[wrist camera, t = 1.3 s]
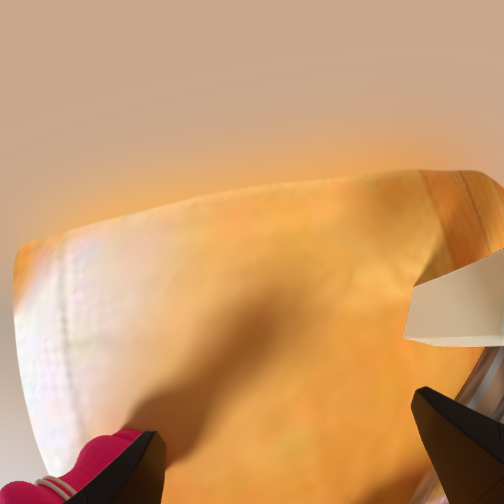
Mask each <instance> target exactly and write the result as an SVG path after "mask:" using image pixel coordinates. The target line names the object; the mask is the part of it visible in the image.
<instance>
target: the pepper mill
mask: <svg viewBox="0 0 504 504" xmlns="http://www.w3.org/2000/svg"><path fill="white" fill-rule="evenodd" d="M140 434H141V432H139V431H135V430H131V429H125V430H121V431H118V432H117V433H115V434H113V435H111V436H110V435H103V436H99V437H96V438H94V439H93V440H91V441H90V442H88V443H87V444H86V445H85V446H84V448H83V449H82V450H81V452H80V454H79V457H78V459H77V461H76V464H75V466H74V468H73V469H72V470H71V471H70V472H68V473H67V474H65V475H64V476H61V477H58V478H56V477H53V476H45V477H44V478H43V479H38V480H37V481H35V483H34V485H33V484H31V483H28V482H24V481H15V482H11V483H9V484H7V485H5V486H4V487H3V488H2V489H1V491H0V504H62V503H64V502H65V501H67V500H68V499H69V498H71V497H72V496H73V495H75V494H76V493H77V492H78V491H80V490H81V489H82V488H83V487H84V486H86V485H87V484H88V483H89V482H90V481H91V480H92V479H93V478H94V477H96V476H97V475H98V474H99V473H100V472H101V471H102V470H103V469H104V468H106V467H107V466H108V465H109V464H110V463H111V462H112V461H113V460H114V459H115V458H116V457H117V456H119V455H120V454H121V453H122V452H123V451H124V450H125V449H126V448H127V447H128V446H129V445H130V444H131V443H132V442H133V441H134V440H135V439H136V438H137V437H138V436H139V435H140Z"/></svg>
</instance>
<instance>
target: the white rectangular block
mask: <svg viewBox="0 0 504 504" xmlns="http://www.w3.org/2000/svg"><path fill="white" fill-rule="evenodd" d="M402 338H406V339H410V340H414V341H418V342H422V343H426V344H431V345H435V346H456V347H480V346H504V248H503V249H501V250H499V251H497V252H495V253H493V254H491V255H489V256H487V257H484V258H482V259H480V260H478V261H476V262H473V263H471V264H469V265H467V266H464V267H462V268H460V269H457V270H455V271H453V272H450V273H448V274H445V275H443V276H440V277H438V278H435V279H433V280H430V281H428V282H425V283H423V284H420V285H417V286H415V287H413V292H412V297H411V302H410V307H409V312H408V317H407V321H406V325H405V329H404V333H403V337H402Z"/></svg>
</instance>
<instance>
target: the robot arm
mask: <svg viewBox="0 0 504 504" xmlns="http://www.w3.org/2000/svg"><path fill="white" fill-rule="evenodd" d="M411 410H412V413H413V416H414V419H415V421H416V424H417V427H418V430H419V433H420V436H421V439H422V442H423V444H424V446H425V449H426V451H427V453H428V455H429V457H430V459H431V462H432V464H433V466H434V468H435V470H436V473H437V475H438V477H439V480H440V482H441V484H442V487H443V489H444V491H445V494H446V496H447V499H448V501H449V504H504V424H502V423H500V422H497V421H496V420H494V419H492V418H490V417H487V416H485V415H483V414H481V413H479V412H477V411H475V410H473V409H471V408H469V407H467V406H465V405H463V404H461V403H459V402H457V401H455V400H453V399H451V398H449V397H447V396H445V395H443V394H441V393H439V392H437V391H435V390H433V389H431V388H429V387H427V386H424V387H421V388H419V389H417V390H416V391H415V393H414V396H413V400H412V403H411ZM165 459H166V444H165V442H164V441H163V439H162V438H161V436H160V434H159V433H158V432H157V431H156V430H145V431H144V432H143V433H141V434H140V435H139V436H138V437H137V438H136V439H135V440H134V441H133V442H132V443H131V444H130V445H129V446H128V447H127V448H126V449H125V450H124V451H123V452H122V453H121V454H120V455H119V456H117V457H116V458H115V459H114V460H113V461H112V462H111V463H110V464H109V465H108V466H107V467H106V468H104V469H103V470H102V471H101V472H100V473H99V474H98V475H97V476H96V477H94V478H93V479H92V480H91V481H90V482H89V483H88V484H87V485H86V486H84V487H83V488H82V489H81V490H80V491H78V492H77V493H76V494H75V495H73V496H72V497H71V498H69V499H68V500H67V501H65V502H64V503H62V504H161V499H162V493H163V487H164V479H165Z"/></svg>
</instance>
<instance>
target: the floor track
mask: <svg viewBox="0 0 504 504" xmlns="http://www.w3.org/2000/svg"><path fill="white" fill-rule="evenodd" d="M455 401H457V402H459V403H461V404H463V405H465V406H467V407H469V408H471V409H473V410H475V411H477V412H479V413H481V414H483V415H485V416H487V417H490V418H492V419H494V420H496V421H497V422H500V423H502V424H504V346H486V347H485V349H484V351H483V353H482V355H481V357H480V359H479V361H478V362H477V364H476V366H475V368H474V370H473V371H472V373H471V375H470V376H469V378H468V380H467V381H466V383H465V384H464V386H463V388H462V389H461V391H460V392H459V394H458V395H457V397H456V398H455Z"/></svg>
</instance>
